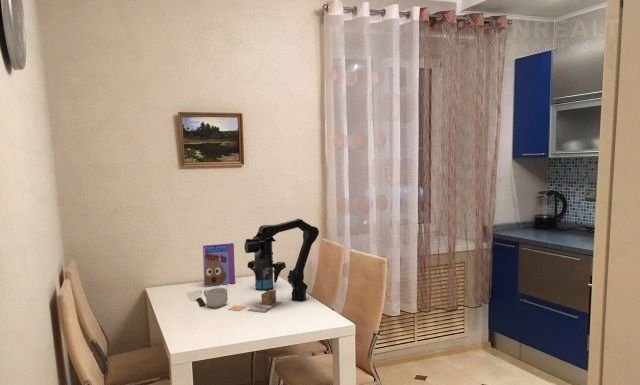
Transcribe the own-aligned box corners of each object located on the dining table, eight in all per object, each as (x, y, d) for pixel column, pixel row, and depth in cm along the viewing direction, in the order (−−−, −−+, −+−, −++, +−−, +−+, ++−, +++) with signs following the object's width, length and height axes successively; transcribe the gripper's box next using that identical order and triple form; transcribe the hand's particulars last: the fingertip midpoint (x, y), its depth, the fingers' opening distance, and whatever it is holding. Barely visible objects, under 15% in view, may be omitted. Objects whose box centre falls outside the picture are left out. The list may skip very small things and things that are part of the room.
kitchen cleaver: (182, 292, 249) (200, 287, 252) (183, 295, 249) (201, 290, 252) (187, 308, 220) (208, 303, 223) (188, 311, 220) (208, 306, 223)
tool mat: (282, 303, 225) (282, 302, 225) (265, 314, 209) (265, 313, 209) (265, 301, 229) (265, 300, 229) (246, 312, 213) (246, 310, 213)
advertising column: (278, 288, 253) (277, 236, 251) (263, 293, 244) (262, 239, 243) (265, 285, 260) (263, 234, 259) (250, 289, 252) (248, 237, 250)
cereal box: (205, 287, 260) (203, 246, 258) (204, 285, 264) (202, 245, 263) (235, 284, 266) (233, 244, 265) (233, 282, 270) (232, 242, 269)
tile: (245, 306, 218) (238, 310, 212) (245, 309, 218) (238, 313, 212) (234, 305, 220) (228, 309, 215) (235, 308, 220) (228, 312, 215)
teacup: (232, 305, 224) (231, 289, 223) (213, 310, 216) (213, 294, 215) (216, 300, 233) (215, 285, 233) (198, 305, 225) (197, 289, 225)
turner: (266, 300, 228) (266, 289, 228) (280, 302, 225) (280, 290, 225) (250, 310, 213) (249, 297, 213) (264, 311, 210) (264, 299, 210)
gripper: (241, 253, 216) (242, 284, 217) (275, 255, 209) (276, 287, 210) (252, 249, 226) (253, 279, 227) (285, 250, 219) (286, 282, 220)
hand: (266, 282), depth 221 cm, fingers open, 9 cm apart
